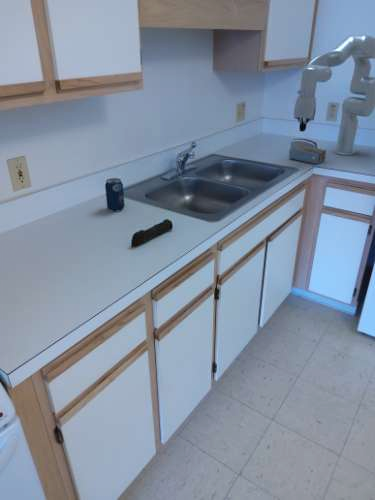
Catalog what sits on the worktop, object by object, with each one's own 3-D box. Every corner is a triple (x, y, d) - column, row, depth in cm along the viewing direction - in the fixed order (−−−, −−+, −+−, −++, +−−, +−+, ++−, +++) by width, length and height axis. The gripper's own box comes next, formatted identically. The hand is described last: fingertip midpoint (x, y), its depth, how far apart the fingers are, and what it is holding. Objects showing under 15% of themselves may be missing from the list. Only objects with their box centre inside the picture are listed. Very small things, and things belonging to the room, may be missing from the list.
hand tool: (165, 227, 143) (164, 215, 141) (173, 230, 141) (173, 218, 139) (126, 245, 131) (125, 233, 128) (134, 249, 128) (133, 237, 126)
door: (289, 157, 223) (290, 148, 220) (317, 163, 213) (319, 153, 210) (287, 158, 221) (288, 149, 219) (315, 164, 211) (317, 154, 209)
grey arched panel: (319, 153, 233) (319, 138, 226) (315, 157, 231) (316, 143, 224) (293, 149, 242) (292, 134, 235) (289, 153, 240) (289, 138, 233)
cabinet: (296, 155, 229) (297, 145, 226) (324, 160, 220) (326, 150, 217) (290, 158, 223) (291, 148, 220) (319, 164, 214) (321, 152, 211)
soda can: (125, 211, 155) (123, 182, 149) (107, 212, 154) (104, 184, 148) (124, 205, 161) (122, 177, 155) (107, 206, 160) (104, 178, 154)
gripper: (290, 93, 197) (286, 130, 207) (318, 96, 190) (313, 134, 199) (296, 91, 203) (292, 127, 212) (324, 94, 195) (318, 131, 204)
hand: (302, 130), depth 205 cm, fingers closed
